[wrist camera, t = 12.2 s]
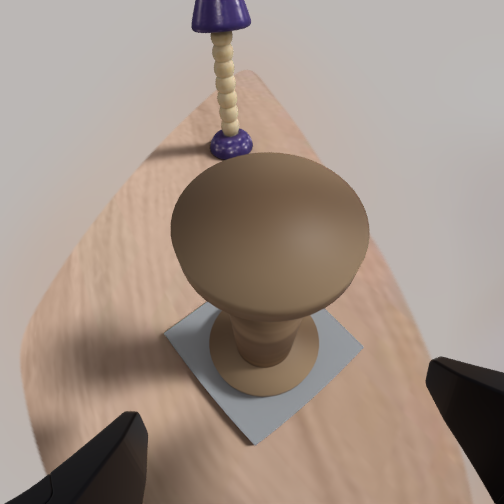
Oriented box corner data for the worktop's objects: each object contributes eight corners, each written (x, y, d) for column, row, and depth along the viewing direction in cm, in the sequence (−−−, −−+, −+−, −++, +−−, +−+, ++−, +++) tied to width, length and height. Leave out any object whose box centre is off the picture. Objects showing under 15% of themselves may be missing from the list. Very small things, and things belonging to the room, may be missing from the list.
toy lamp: (197, 150, 29) (174, -11, 15) (225, 128, 31) (214, -19, 17) (236, 165, 27) (226, -15, 13) (263, 141, 29) (263, -19, 15)
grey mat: (361, 349, 18) (364, 347, 17) (255, 445, 15) (255, 445, 14) (269, 259, 22) (270, 255, 21) (166, 335, 19) (163, 333, 18)
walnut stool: (329, 380, 16) (430, 291, 6) (223, 407, 16) (159, 364, 6) (298, 288, 20) (332, 132, 10) (203, 310, 19) (148, 162, 9)
